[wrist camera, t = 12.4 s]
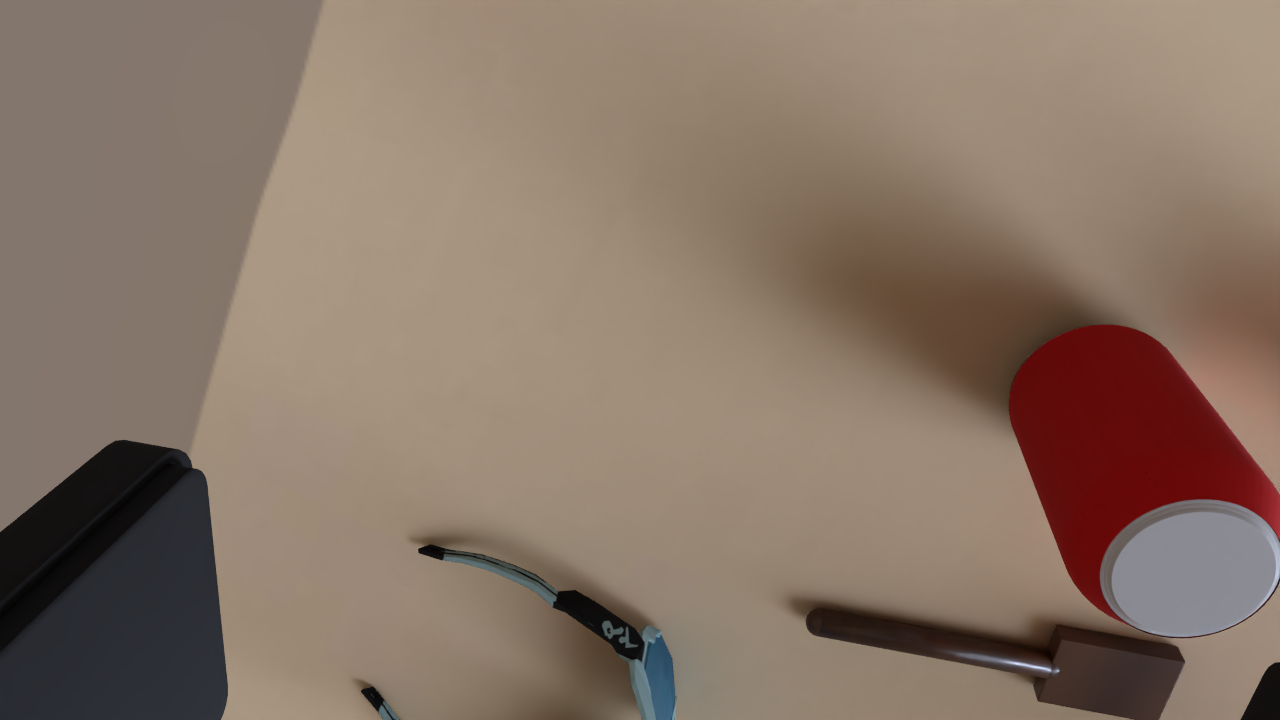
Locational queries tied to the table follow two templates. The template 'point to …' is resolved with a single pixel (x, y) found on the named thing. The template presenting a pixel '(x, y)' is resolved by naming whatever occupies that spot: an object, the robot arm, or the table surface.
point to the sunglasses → (637, 649)
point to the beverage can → (1145, 484)
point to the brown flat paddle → (1037, 661)
